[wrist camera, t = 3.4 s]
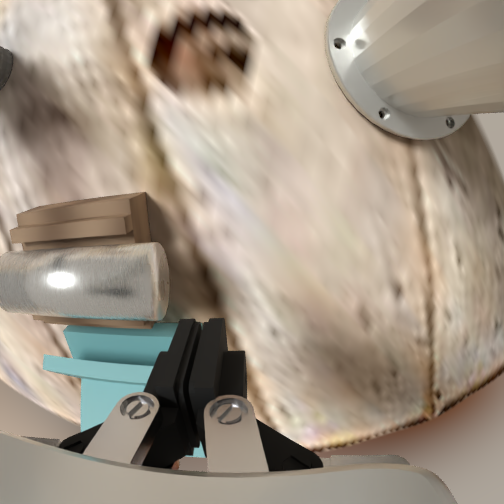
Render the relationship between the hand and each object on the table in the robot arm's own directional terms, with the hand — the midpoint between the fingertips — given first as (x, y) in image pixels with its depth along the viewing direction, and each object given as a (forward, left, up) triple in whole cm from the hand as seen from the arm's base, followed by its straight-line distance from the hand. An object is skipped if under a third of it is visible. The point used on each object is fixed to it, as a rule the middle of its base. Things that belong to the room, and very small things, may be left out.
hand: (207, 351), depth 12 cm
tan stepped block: (+11, 0, -11) cm, 15 cm away
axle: (+10, 0, -8) cm, 12 cm away
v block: (+9, +11, -11) cm, 17 cm away
